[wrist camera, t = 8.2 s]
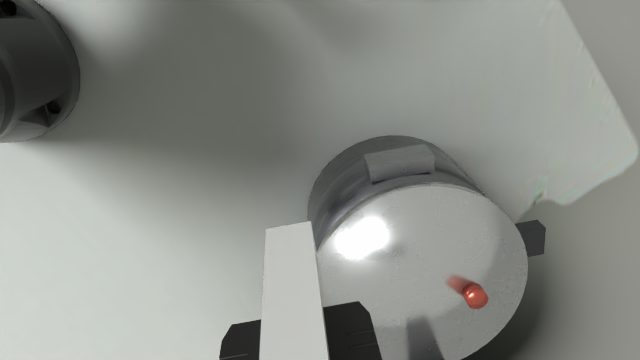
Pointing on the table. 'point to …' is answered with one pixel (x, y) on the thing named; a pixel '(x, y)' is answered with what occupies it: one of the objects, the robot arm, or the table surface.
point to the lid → (426, 269)
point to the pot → (390, 181)
